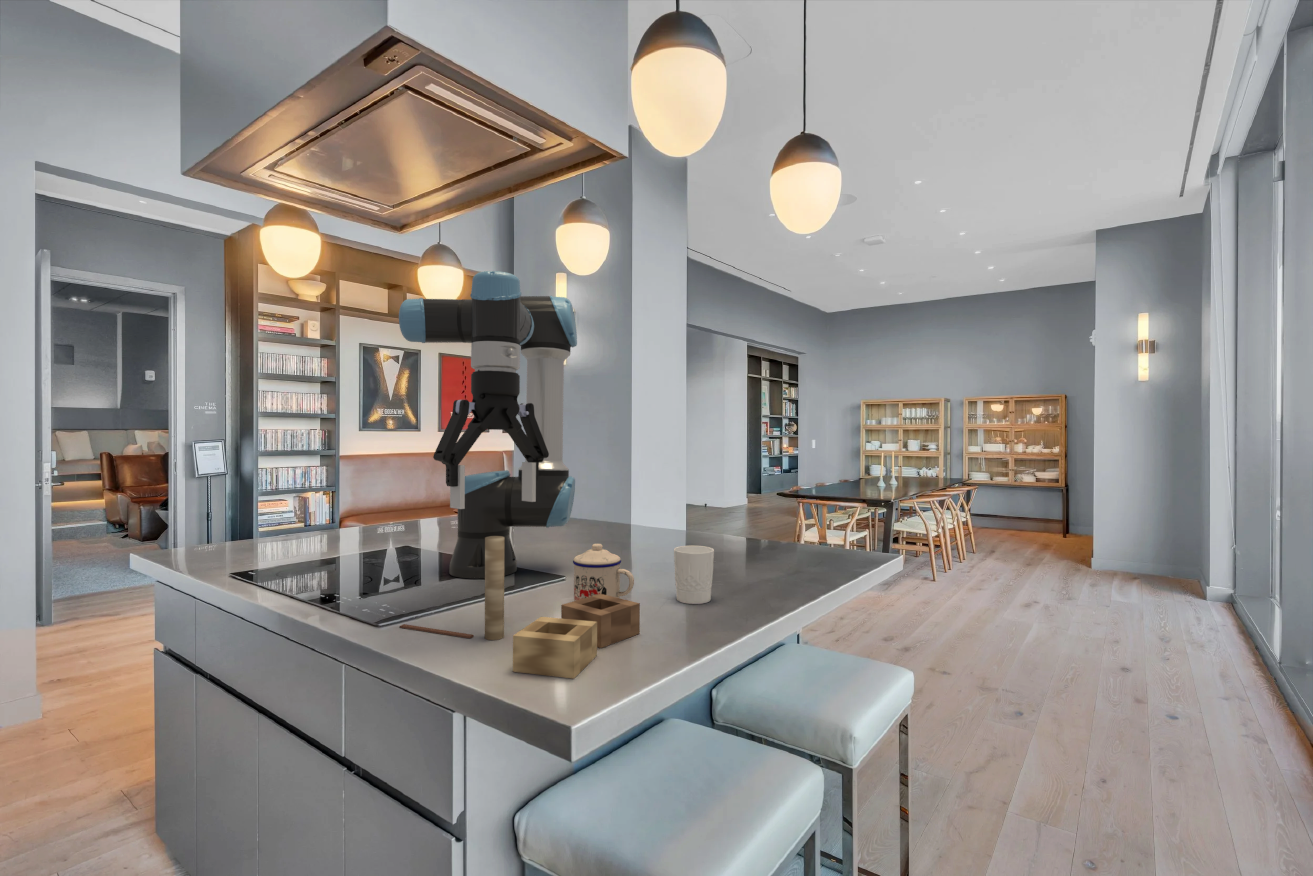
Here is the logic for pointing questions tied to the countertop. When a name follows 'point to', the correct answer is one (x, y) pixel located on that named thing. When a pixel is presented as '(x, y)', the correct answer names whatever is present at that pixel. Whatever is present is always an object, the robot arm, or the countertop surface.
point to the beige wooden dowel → (494, 587)
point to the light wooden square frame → (555, 647)
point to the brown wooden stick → (437, 631)
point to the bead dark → (606, 617)
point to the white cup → (693, 573)
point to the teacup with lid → (599, 574)
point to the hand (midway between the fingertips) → (494, 504)
